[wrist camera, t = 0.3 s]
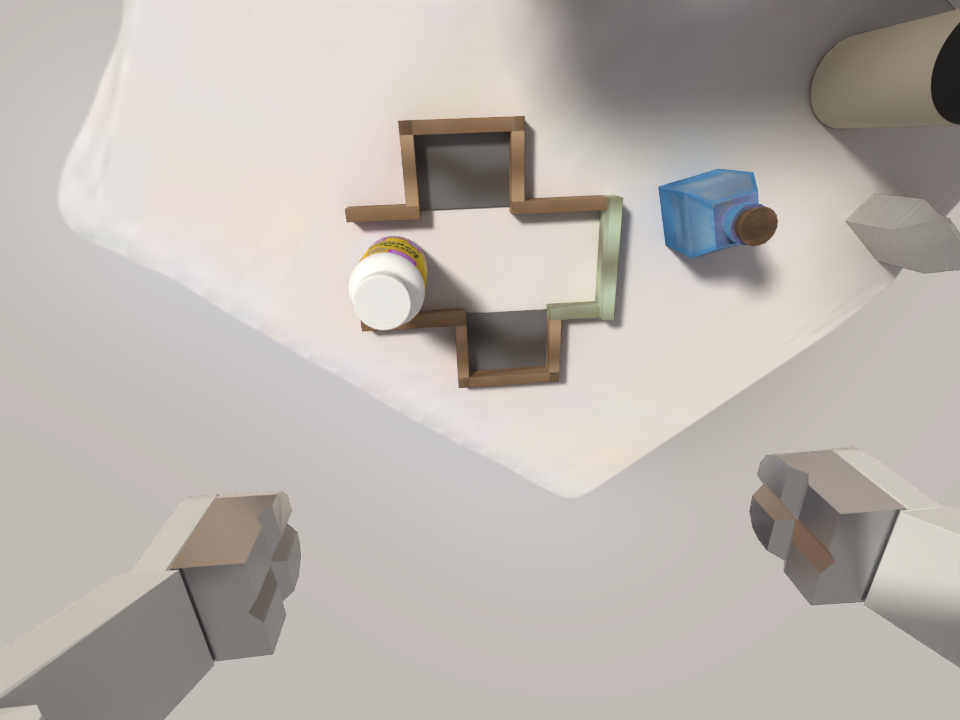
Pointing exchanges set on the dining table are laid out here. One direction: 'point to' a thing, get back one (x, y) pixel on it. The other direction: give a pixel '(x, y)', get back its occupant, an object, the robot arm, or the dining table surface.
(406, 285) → the supplement bottle
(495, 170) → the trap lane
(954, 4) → the light bulb box
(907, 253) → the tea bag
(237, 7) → the dining table surface
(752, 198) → the perfume bottle
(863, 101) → the travel mug
